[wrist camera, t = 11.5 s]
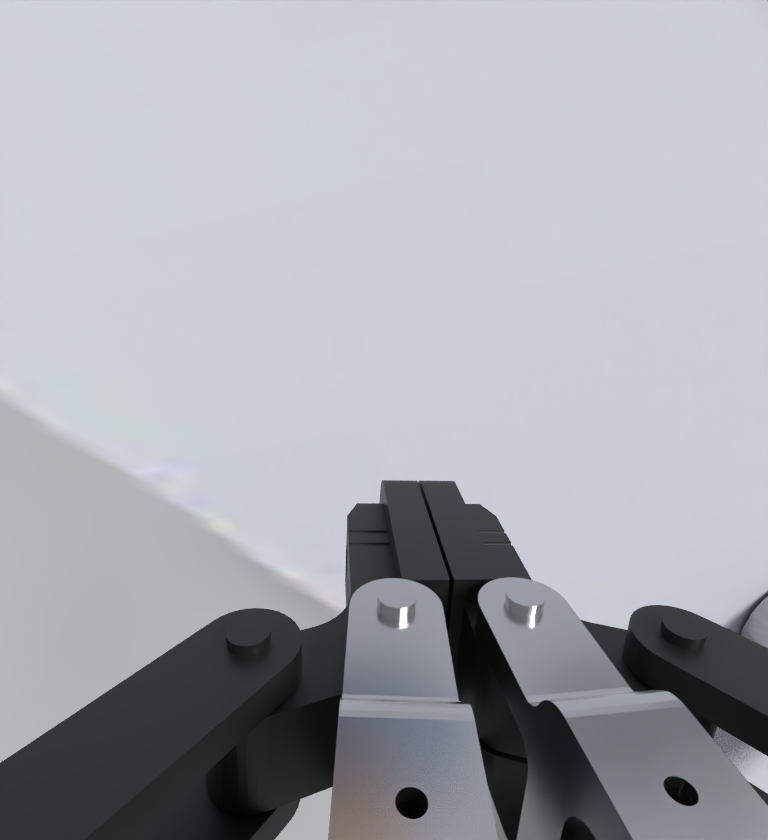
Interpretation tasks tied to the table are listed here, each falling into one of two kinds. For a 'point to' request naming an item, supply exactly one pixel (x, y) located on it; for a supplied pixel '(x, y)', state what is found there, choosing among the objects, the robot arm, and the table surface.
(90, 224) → the table surface
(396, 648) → the robot arm
